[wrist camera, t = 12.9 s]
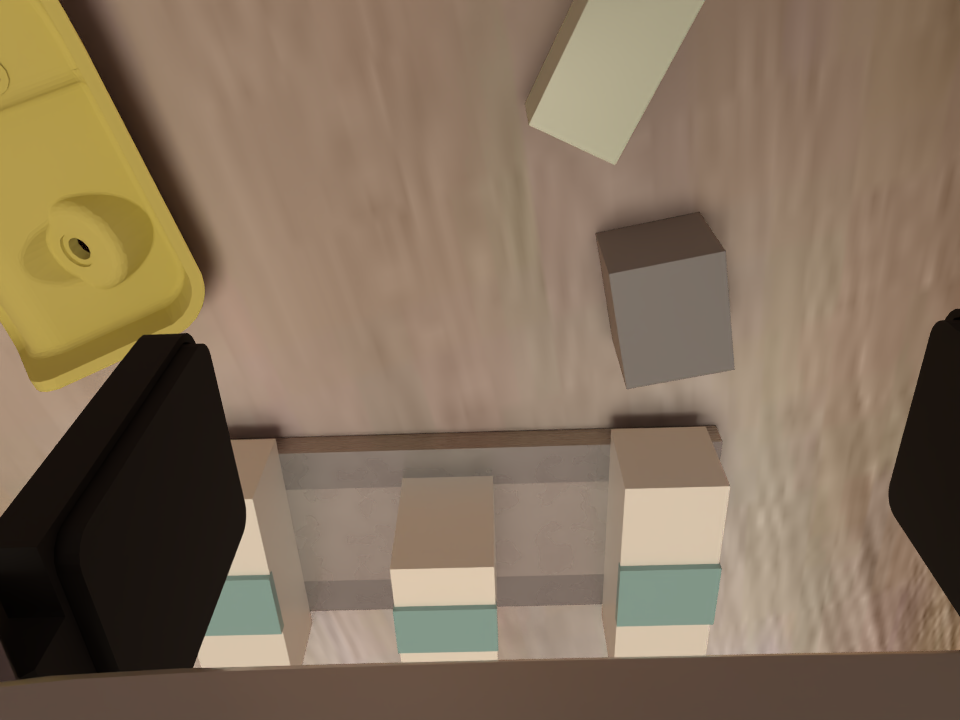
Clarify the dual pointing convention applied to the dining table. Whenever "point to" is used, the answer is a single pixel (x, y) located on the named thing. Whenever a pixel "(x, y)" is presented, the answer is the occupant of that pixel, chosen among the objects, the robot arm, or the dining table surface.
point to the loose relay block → (667, 300)
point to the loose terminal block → (606, 70)
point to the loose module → (445, 570)
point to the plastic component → (77, 211)
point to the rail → (504, 455)
